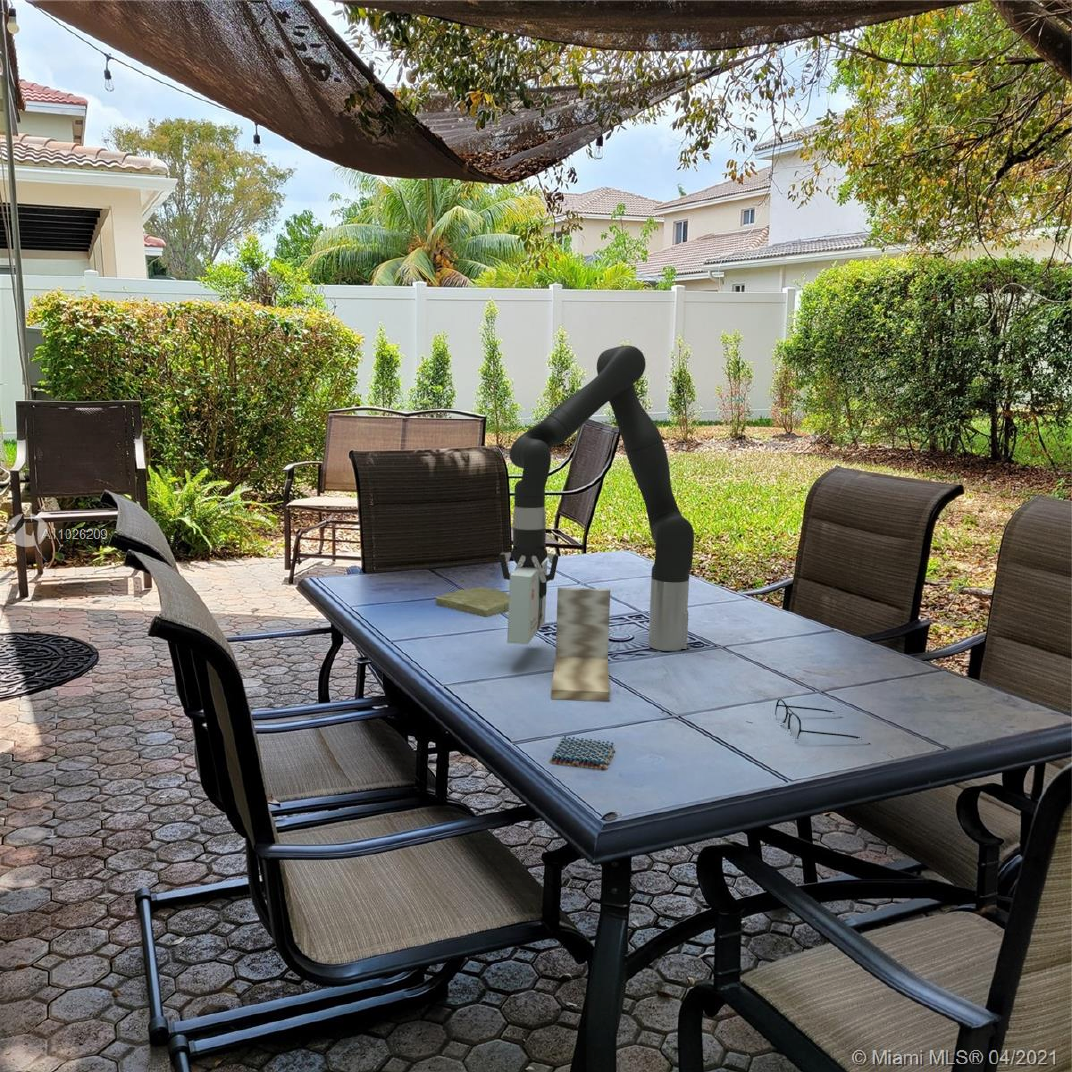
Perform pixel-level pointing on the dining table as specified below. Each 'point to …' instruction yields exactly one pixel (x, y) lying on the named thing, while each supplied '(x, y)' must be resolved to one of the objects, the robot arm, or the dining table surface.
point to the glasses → (800, 720)
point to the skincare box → (525, 605)
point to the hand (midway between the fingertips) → (528, 596)
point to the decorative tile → (476, 601)
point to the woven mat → (583, 753)
